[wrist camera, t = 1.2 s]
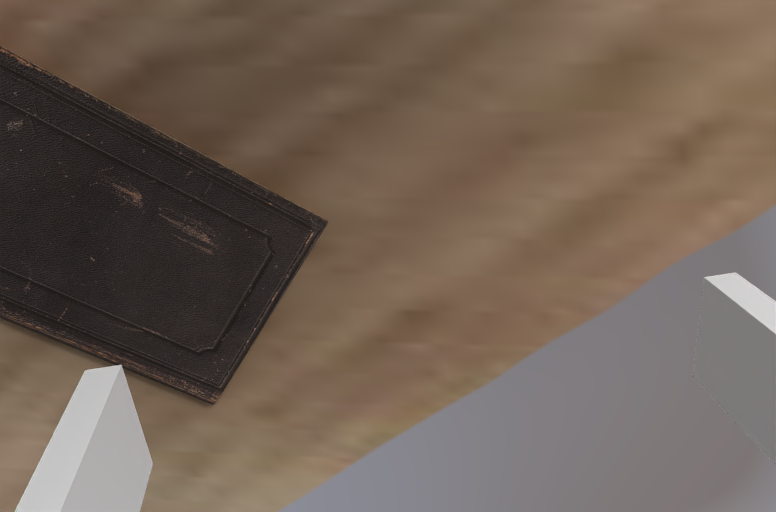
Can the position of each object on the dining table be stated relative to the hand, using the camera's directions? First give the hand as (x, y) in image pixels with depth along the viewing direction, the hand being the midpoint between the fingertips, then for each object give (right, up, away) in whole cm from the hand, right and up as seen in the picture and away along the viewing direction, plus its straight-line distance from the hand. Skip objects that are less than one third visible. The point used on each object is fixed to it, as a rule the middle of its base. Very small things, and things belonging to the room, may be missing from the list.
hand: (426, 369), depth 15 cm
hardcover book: (-19, +4, +28) cm, 34 cm away
